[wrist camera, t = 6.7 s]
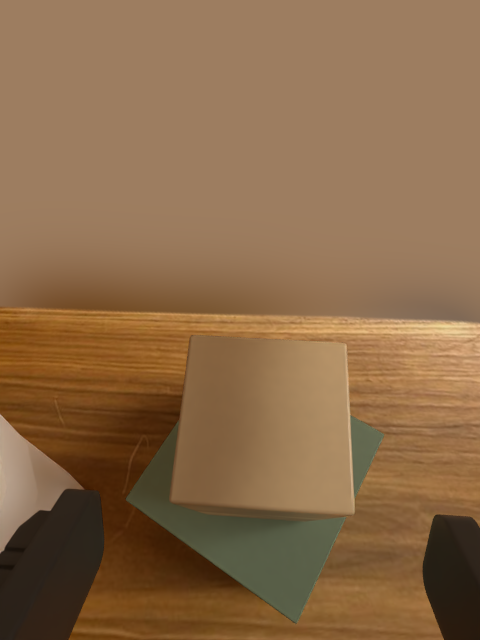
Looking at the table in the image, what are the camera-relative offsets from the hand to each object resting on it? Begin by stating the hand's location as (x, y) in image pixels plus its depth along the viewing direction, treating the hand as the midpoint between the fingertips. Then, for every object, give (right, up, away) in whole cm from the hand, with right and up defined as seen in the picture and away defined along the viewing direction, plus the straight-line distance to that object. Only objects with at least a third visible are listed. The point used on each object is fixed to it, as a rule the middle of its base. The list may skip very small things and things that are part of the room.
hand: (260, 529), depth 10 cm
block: (0, -2, +10) cm, 10 cm away
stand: (0, -5, +16) cm, 17 cm away
